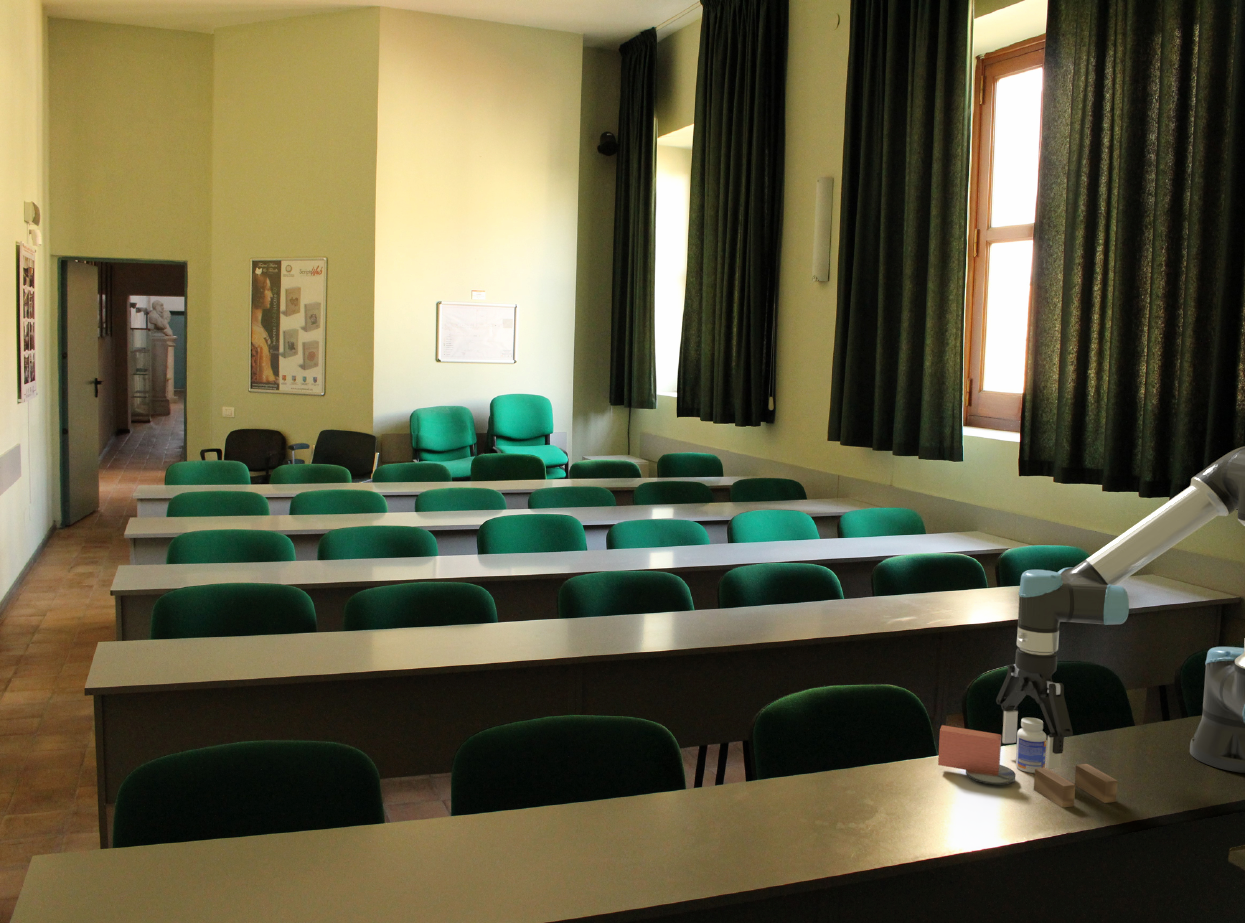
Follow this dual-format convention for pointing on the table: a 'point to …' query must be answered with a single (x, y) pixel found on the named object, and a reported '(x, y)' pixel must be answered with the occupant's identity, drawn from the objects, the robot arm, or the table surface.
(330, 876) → the table surface
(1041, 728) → the pill bottle
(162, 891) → the table surface
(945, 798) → the table surface
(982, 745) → the block on round base
